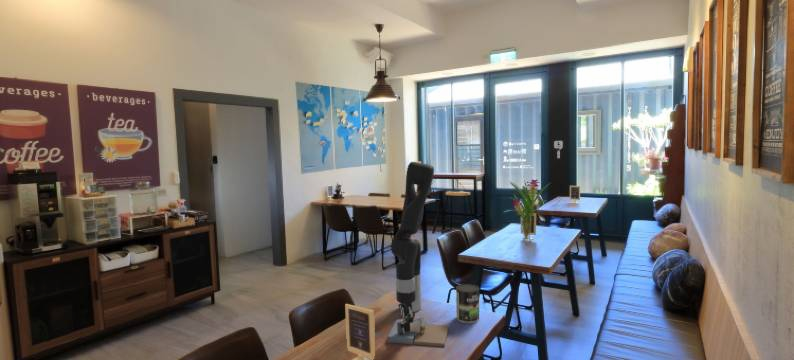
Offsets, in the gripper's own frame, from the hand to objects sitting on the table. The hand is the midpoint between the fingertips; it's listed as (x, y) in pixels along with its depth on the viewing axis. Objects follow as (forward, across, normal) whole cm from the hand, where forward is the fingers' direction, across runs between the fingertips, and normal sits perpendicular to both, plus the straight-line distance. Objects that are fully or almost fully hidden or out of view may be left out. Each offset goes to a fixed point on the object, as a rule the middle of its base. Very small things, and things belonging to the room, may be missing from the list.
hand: (407, 331), depth 167 cm
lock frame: (+4, -4, +7) cm, 9 cm away
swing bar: (+2, -3, +3) cm, 5 cm away
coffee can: (+4, -10, +33) cm, 35 cm away
